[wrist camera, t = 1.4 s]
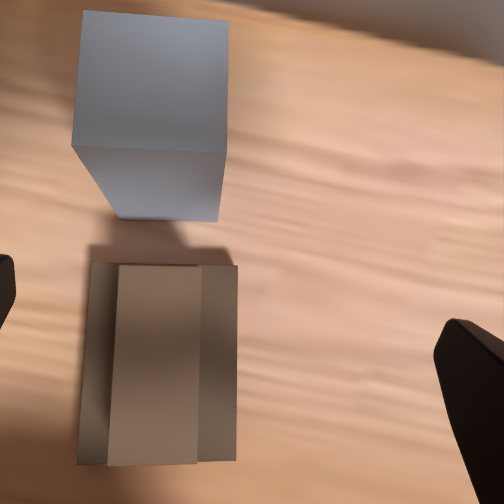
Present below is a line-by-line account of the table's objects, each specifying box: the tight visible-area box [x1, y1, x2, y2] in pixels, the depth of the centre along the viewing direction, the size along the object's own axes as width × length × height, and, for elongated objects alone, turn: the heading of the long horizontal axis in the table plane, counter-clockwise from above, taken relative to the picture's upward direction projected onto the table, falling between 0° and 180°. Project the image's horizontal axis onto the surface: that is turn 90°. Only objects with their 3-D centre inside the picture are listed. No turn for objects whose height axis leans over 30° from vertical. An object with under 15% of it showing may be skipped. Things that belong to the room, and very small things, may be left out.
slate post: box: [71, 10, 228, 222], centre depth 20 cm, size 5×5×9 cm
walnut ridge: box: [77, 263, 238, 467], centre depth 20 cm, size 9×7×4 cm
